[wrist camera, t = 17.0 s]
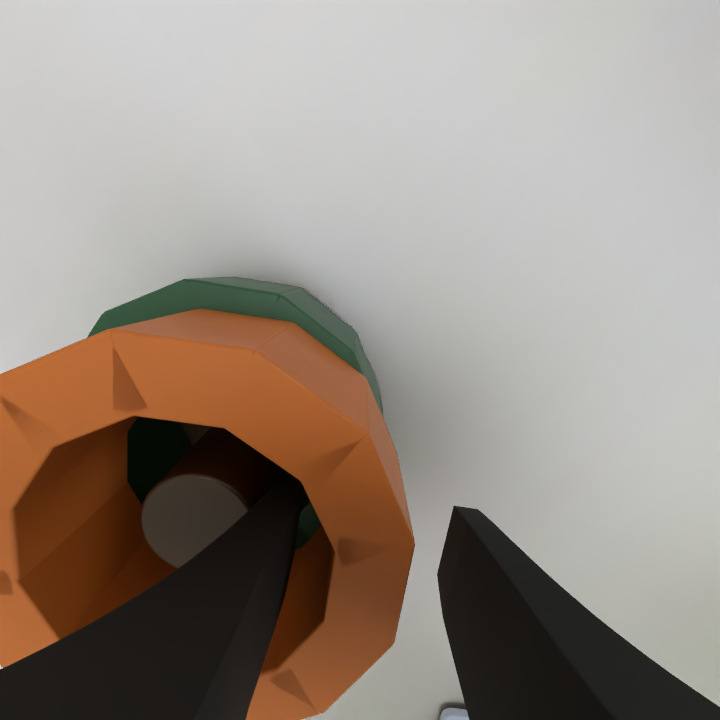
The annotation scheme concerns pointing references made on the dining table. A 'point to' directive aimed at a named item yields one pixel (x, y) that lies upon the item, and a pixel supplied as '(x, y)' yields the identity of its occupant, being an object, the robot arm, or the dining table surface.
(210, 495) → the dark brown cylinder peg
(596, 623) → the robot arm
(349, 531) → the orange ring
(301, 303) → the green ring
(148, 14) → the dining table surface
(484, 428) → the dining table surface
